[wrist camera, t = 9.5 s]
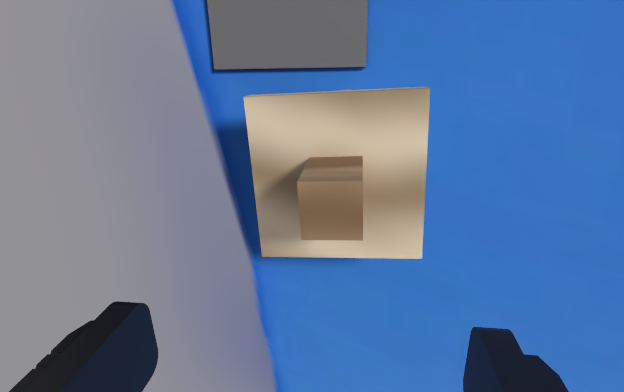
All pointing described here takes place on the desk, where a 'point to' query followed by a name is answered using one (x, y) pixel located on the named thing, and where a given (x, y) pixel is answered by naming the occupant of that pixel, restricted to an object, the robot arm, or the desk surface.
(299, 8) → the mat
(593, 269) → the desk surface
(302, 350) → the desk surface
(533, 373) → the robot arm
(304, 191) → the lid
